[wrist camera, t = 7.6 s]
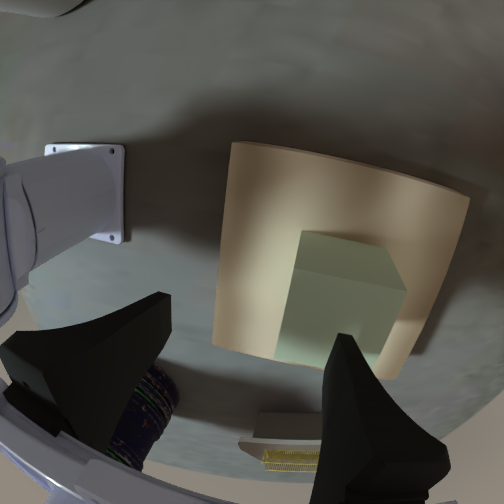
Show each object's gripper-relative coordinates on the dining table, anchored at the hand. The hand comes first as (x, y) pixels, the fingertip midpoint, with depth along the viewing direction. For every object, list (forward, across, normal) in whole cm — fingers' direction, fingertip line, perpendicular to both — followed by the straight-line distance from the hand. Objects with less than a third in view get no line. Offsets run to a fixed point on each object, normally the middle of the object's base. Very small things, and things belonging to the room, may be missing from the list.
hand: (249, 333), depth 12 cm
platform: (+10, -5, +18) cm, 21 cm away
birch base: (+9, -4, 0) cm, 10 cm away
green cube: (+6, -4, 0) cm, 7 cm away
